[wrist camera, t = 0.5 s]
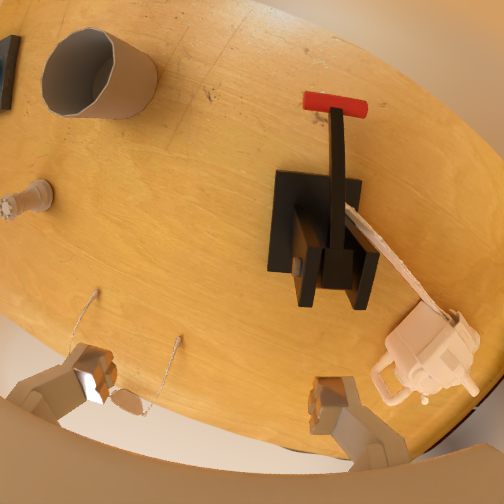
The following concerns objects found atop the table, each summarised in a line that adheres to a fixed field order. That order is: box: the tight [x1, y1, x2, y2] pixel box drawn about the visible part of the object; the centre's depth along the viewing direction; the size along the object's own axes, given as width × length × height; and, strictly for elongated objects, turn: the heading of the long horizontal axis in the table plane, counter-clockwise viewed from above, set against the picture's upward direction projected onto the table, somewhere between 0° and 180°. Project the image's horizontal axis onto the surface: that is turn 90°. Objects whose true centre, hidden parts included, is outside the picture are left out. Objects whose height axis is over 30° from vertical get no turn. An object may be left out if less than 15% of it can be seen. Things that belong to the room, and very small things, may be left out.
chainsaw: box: [345, 202, 481, 406], centre depth 30 cm, size 15×35×12 cm, turn 49°
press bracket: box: [267, 170, 380, 310], centre depth 26 cm, size 11×9×14 cm
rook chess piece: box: [0, 179, 53, 221], centre depth 29 cm, size 4×4×8 cm
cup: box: [41, 27, 158, 119], centre depth 23 cm, size 8×8×10 cm
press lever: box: [303, 91, 368, 290], centre depth 22 cm, size 16×6×2 cm, turn 176°
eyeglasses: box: [69, 289, 181, 417], centre depth 39 cm, size 15×18×4 cm
